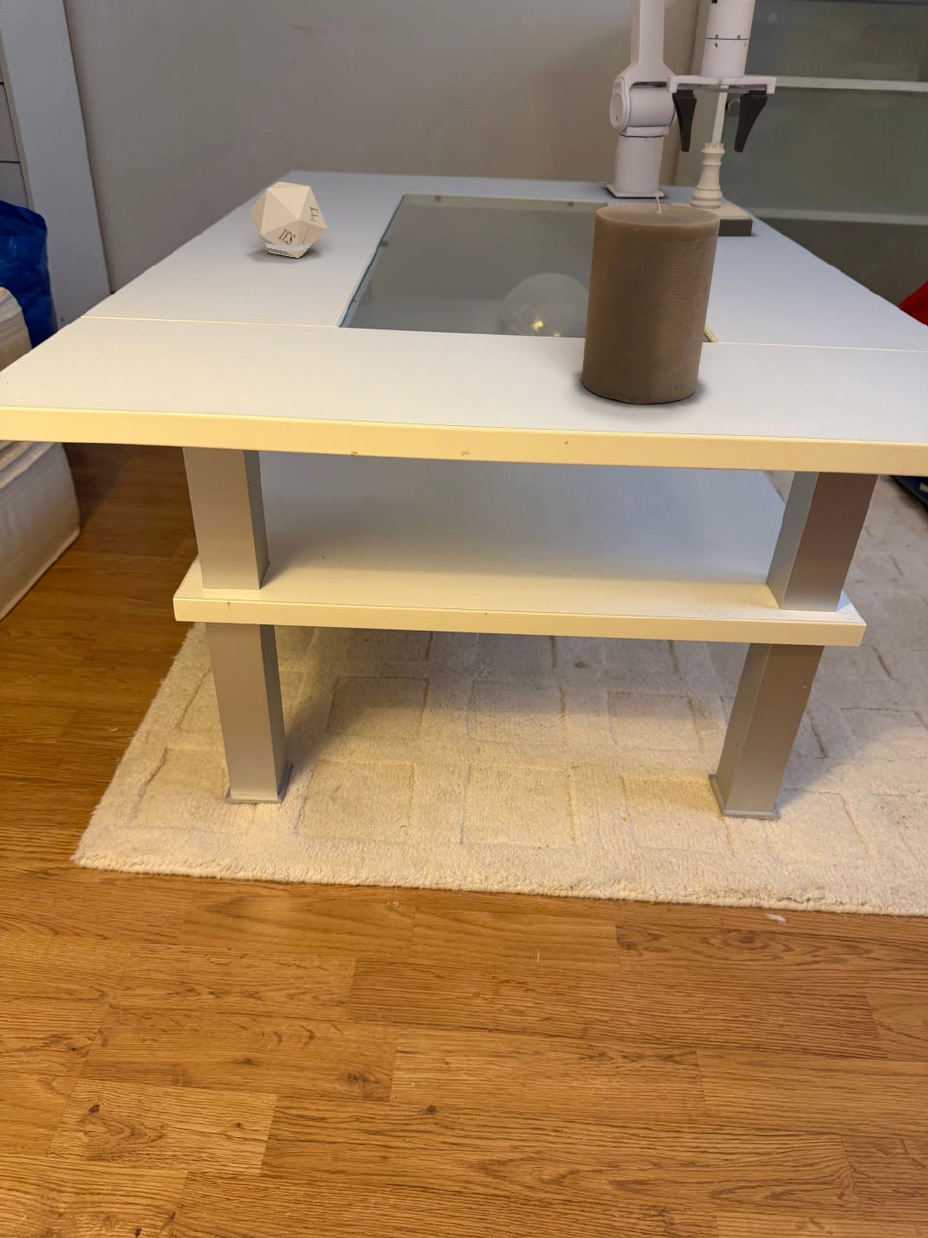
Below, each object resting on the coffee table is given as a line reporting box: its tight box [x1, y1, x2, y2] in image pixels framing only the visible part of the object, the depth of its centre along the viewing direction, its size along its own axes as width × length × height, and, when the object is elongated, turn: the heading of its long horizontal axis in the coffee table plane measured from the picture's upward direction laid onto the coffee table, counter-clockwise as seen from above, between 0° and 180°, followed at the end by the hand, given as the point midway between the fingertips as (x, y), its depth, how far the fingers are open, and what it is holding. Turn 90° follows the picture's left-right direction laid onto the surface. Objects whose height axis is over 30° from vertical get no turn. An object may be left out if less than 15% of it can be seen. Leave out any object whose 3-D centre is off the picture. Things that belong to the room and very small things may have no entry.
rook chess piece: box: [689, 142, 726, 209], centre depth 133 cm, size 4×4×8 cm
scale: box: [669, 202, 754, 237], centre depth 135 cm, size 10×10×3 cm
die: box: [249, 181, 329, 258], centre depth 118 cm, size 8×9×10 cm
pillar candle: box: [581, 195, 720, 405], centre depth 77 cm, size 10×10×15 cm
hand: (711, 151), depth 134 cm, fingers open, 7 cm apart
